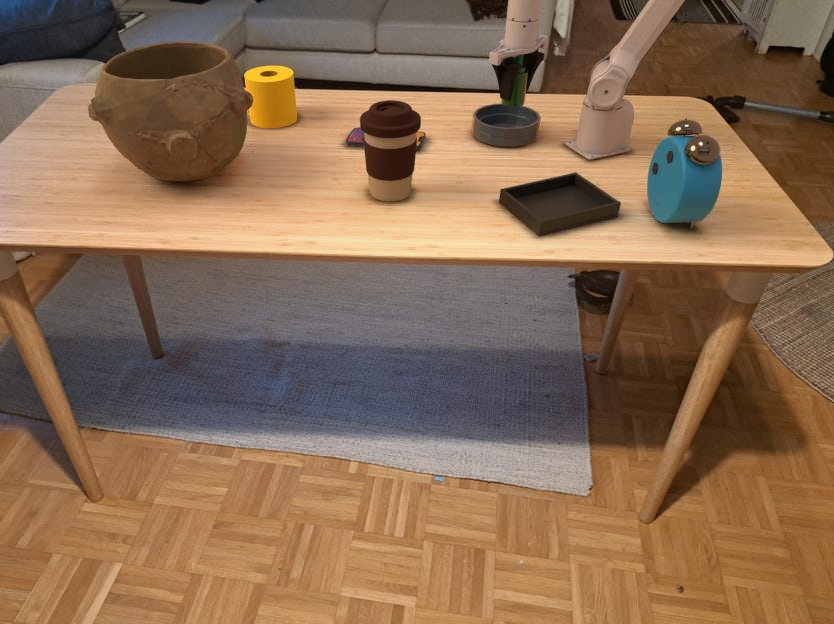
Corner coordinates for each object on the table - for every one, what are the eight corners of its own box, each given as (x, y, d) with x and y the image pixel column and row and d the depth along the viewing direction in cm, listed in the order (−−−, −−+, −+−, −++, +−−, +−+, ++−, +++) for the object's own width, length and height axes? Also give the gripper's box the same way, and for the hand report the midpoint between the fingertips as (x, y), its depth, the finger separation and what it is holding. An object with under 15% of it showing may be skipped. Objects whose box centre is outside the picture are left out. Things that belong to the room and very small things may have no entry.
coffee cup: (424, 203, 116) (427, 116, 106) (366, 209, 115) (364, 121, 105) (411, 177, 123) (413, 94, 113) (357, 182, 122) (355, 98, 112)
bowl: (80, 175, 127) (44, 63, 113) (204, 128, 142) (186, 25, 129) (164, 223, 112) (135, 102, 99) (292, 165, 128) (281, 54, 115)
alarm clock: (705, 238, 106) (737, 145, 96) (665, 239, 106) (694, 147, 96) (674, 198, 116) (700, 110, 106) (638, 199, 116) (661, 112, 106)
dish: (514, 118, 143) (517, 99, 141) (550, 141, 134) (553, 121, 131) (460, 129, 140) (461, 109, 137) (492, 153, 130) (495, 133, 128)
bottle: (516, 97, 132) (522, 49, 126) (528, 104, 129) (535, 56, 123) (496, 100, 131) (501, 52, 125) (508, 108, 128) (514, 59, 122)
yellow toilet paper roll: (243, 126, 143) (236, 80, 136) (259, 108, 150) (254, 64, 144) (288, 130, 141) (284, 83, 135) (303, 111, 148) (299, 67, 142)
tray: (573, 185, 120) (575, 172, 118) (617, 216, 111) (621, 202, 110) (498, 202, 116) (500, 188, 114) (538, 236, 107) (541, 222, 106)
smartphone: (354, 131, 140) (354, 126, 139) (426, 136, 136) (426, 131, 136) (344, 146, 134) (344, 141, 133) (419, 152, 131) (419, 146, 130)
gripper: (530, 6, 126) (520, 80, 135) (478, 21, 119) (472, 99, 128) (561, 13, 122) (550, 89, 131) (510, 29, 115) (501, 109, 124)
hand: (513, 95), depth 129 cm, fingers closed on bottle, 4 cm apart
